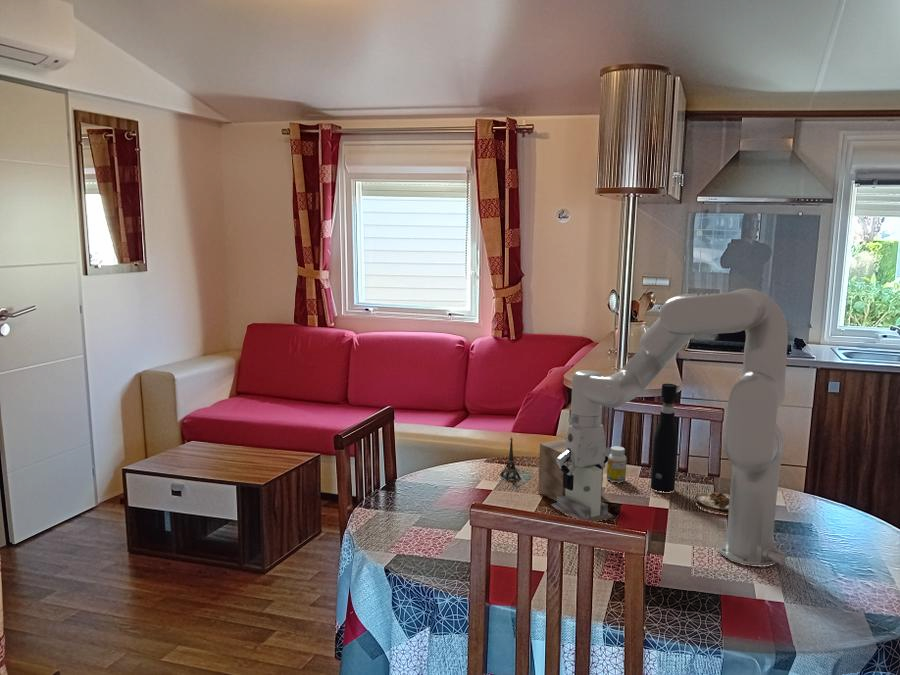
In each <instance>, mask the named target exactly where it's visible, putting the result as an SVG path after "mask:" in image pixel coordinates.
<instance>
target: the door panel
mask: <svg viewBox="0 0 900 675" xmlns="http://www.w3.org/2000/svg"><path fill="white" fill-rule="evenodd" d="M570 467H571V465H570V466H569V467H568V469H569V468H570ZM572 475H574V482H573V490H571V491H570V490H568V489H565V497H567V498H569V499H571V500H573V501H575V502H577V503H579V504H581V505H583V506H585V507H587V508H589V509H590V517H595V516H599V515H600V506H601V502H602V496H601V487H602V488H603V481H602V469H600V468H598V467H596V466H588V467H583V468H577V467H576V468H575V470H574V471H573V473H572Z"/></svg>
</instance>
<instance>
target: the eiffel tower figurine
mask: <svg viewBox="0 0 900 675" xmlns="http://www.w3.org/2000/svg"><path fill="white" fill-rule="evenodd" d="M509 446H510V447H509V453H508V459H507V461H506V465H505V466H504V469H503V470H502V471H501V473H500V474H498V476H500V478H501V479H502V480H503V481H504V482H509V481H519V482H520V483H519V484H512V485H510V487H511V489H518V488H519V487H520V486H522V485H524V484H525V483H526V482H527V481H529V480H531V479H532V478H533V477H532V476H531V474H532V473H531V472H528V471H520V469H519V468H517V467H516V465H515V460H514V451H513V450H514V449H513V436H510V443H509ZM521 483H522V484H521Z"/></svg>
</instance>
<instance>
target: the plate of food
mask: <svg viewBox="0 0 900 675" xmlns="http://www.w3.org/2000/svg"><path fill="white" fill-rule="evenodd" d="M694 499H695V500H696V503H697V504H698V506H699V507H701V508H703V509H706V510H710V511H714V512H719V513H724V514H728V513H729V501H730V494H728V493H723V492H721V491H718V492H717V491H714V492H700V493H697V495H695V497H694ZM696 503H695V504H696Z"/></svg>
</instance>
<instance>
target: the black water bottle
mask: <svg viewBox="0 0 900 675" xmlns="http://www.w3.org/2000/svg"><path fill="white" fill-rule="evenodd" d="M677 387H678V386H677V384H675V383H674V384H673V383H662V385H661V394H660V396H661V397H662V398H663V400H662V401H663V402H662V405H661V409H660V410H661V411H660V412H659V413H660V414H659V422H658V425H657V427H656V429H655V433H654V436H653V445H652V446H653V447H652V459H651V460H652V461H651V462H652V463H651V474H650V475H651V476H650V489H651V488H652V489H654V490H657V491H662V492H663V491H664V492H670V491H673V490H674V491H675V488H676V486H675V485H676V471H677V458H678V456H677V455H678V444H679V441H678V434H677V428H676V425H675V412H674V409H675V407H674V406H675V405H674V399H675V398H677Z"/></svg>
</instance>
